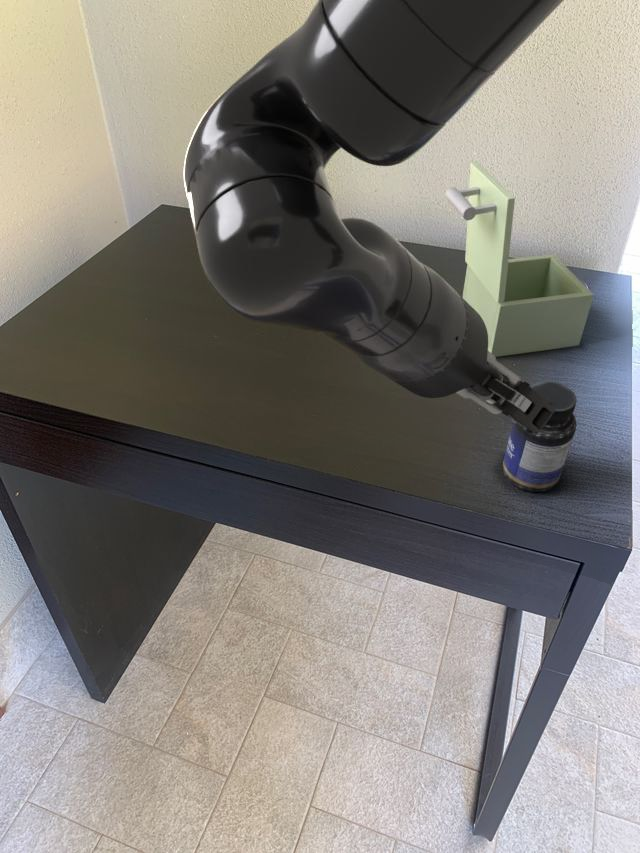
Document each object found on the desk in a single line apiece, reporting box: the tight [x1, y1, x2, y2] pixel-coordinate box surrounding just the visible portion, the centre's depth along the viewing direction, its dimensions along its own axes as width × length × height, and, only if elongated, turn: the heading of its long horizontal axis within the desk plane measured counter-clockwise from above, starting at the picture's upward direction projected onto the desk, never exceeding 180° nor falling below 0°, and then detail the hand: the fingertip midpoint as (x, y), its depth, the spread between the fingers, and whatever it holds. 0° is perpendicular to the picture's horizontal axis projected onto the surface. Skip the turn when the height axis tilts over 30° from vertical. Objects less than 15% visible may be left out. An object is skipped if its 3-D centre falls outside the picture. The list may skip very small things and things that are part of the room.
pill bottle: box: [502, 380, 577, 493], centre depth 71 cm, size 6×6×11 cm
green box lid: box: [445, 161, 516, 303], centre depth 85 cm, size 14×11×5 cm
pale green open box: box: [462, 253, 595, 358], centre depth 93 cm, size 13×11×8 cm
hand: (497, 394), depth 60 cm, fingers open, 8 cm apart
